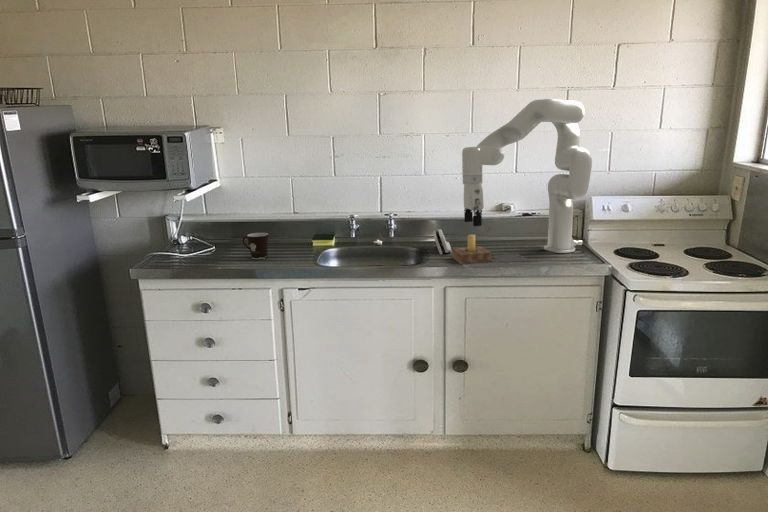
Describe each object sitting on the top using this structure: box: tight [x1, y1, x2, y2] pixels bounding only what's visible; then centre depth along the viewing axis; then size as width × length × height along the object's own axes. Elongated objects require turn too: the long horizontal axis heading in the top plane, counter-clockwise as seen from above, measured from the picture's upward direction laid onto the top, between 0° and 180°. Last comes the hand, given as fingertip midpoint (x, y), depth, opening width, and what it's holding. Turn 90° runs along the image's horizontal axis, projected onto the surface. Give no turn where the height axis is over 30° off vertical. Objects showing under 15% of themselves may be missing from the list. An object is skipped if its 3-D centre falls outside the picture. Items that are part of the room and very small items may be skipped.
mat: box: [492, 253, 529, 263], centre depth 224 cm, size 11×11×1 cm
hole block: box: [451, 246, 493, 266], centre depth 223 cm, size 12×12×4 cm
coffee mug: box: [242, 232, 269, 258], centre depth 236 cm, size 12×9×10 cm
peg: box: [467, 234, 476, 252], centre depth 223 cm, size 3×3×10 cm
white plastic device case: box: [432, 228, 452, 255], centre depth 242 cm, size 17×5×10 cm, turn 176°
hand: (472, 223), depth 221 cm, fingers open, 9 cm apart
